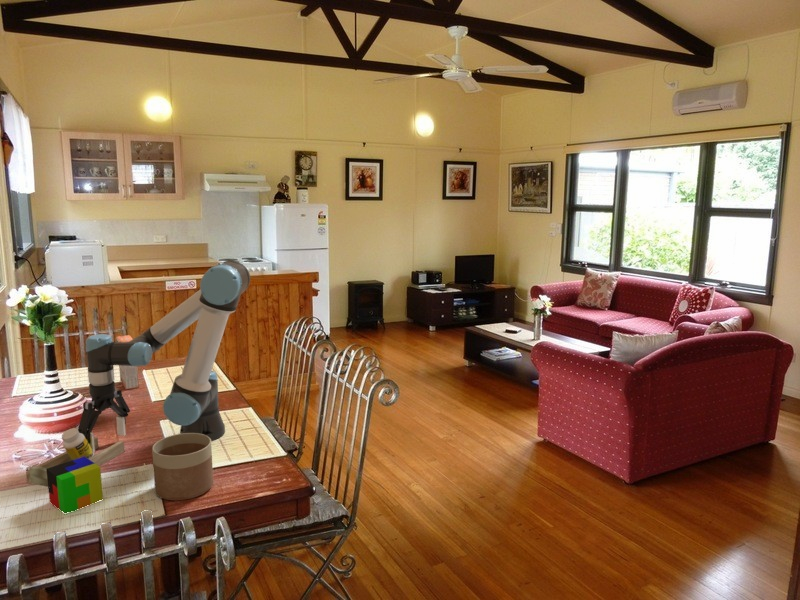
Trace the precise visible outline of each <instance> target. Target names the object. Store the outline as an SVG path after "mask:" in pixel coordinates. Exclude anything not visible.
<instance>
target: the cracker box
mask: <svg viewBox="0 0 800 600" xmlns="http://www.w3.org/2000/svg"><path fill="white" fill-rule="evenodd" d="M133 339H134V338H132V336H131V335H129V334H128V335H118V336H116V342H129V341H131V340H133ZM118 368H119V369H118V371H119V377H120V378H119V380H120V382H121V384H122V385H123V388H124V390H125V391H126V390H131V389H137V388H140V383H139V381H140V380H139V370H138V369H139V368H138V366H121V365H118Z"/></svg>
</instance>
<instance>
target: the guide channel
mask: <svg viewBox="0 0 800 600" xmlns="http://www.w3.org/2000/svg"><path fill="white" fill-rule="evenodd" d="M94 446H95V450H96V449H98V448H99V438H98V437H96V436H94ZM123 453H125V441H121V440H120V441H118V442H115V443H114V444H112V445H110V446H108V447H107V448H104V449H103V450H101V451H99V452H97V453H94V456H92V457H90V458H88V459H89V460H91V461H92V462H94V463H95V464H97V465H98V466H100V467H101V466H102V465H104V464H106V463H108V462H109V461H111V460H112V459H115V458H116V457H118V456H120V455H121V454H123ZM69 461H72V459H71V458H70V456H69V454H68V453H67V451H66V450H65V451H64V452H63V453H60V454H58V455H56V456H54V457H52V458H50V459H48V460H46V461H44V462H42V463H40V464H38V465H32V466H30V467H29V468H28V470H27V471H25V476H26V483H27V484H31V485H36V486H41V487H42V486H43V487H47V488H48V480H47V471H46V469H47V468H50V467H53V466H56V465H60V464H63V463H66V462H69Z"/></svg>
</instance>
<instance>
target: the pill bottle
mask: <svg viewBox="0 0 800 600" xmlns="http://www.w3.org/2000/svg"><path fill="white" fill-rule="evenodd" d="M61 439H62V440H63V444H62V445H63V448H64V449H65V452H66V451H67V453H68V454H69V456H70V458H71V459H72V460H75V459H78V458H81V457H86V458H87V459H88V458H90V457H92V456H94V455H95V452H93V450H92V449H91V447H90V445H89V443H88V441H87V440H86V438H85V436H84V435H83V434H82V433H79V431H78V428H76V427H72V428H69V429H67V430H66V431H64V432H63V433H62V435H61Z"/></svg>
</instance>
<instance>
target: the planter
mask: <svg viewBox="0 0 800 600" xmlns="http://www.w3.org/2000/svg"><path fill="white" fill-rule="evenodd" d="M151 454H152V464H153V478H154V493H155V495H157V497H158V498H160V499H164V500H166V501H168V500H169V501H183V500H189V499H193V498H196V497H199V496H200V495H203V494H205V493H206V492H207V491H209V490H210V489H211V488H212V487H213V484H214V469H213V451H212V440H211V439H210V438H209V437H208V436H206V435H203V434H198V433H183V434H180V433H178V434H173V435H168V436H166V437H164V438H161V439H159V440H158V441H156V442H155V443H154V444H153V445H152V447H151Z"/></svg>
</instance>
